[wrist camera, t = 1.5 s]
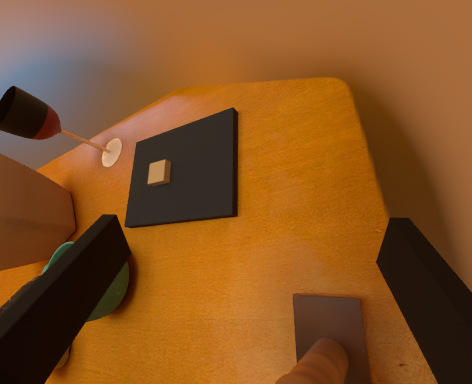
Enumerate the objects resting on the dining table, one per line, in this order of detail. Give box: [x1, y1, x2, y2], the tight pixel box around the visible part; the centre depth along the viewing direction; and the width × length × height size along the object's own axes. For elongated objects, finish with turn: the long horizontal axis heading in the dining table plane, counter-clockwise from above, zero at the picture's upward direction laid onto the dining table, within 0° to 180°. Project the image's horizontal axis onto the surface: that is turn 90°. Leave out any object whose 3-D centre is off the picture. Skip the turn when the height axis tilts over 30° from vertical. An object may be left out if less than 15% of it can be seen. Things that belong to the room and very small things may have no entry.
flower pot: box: [0, 154, 76, 271], centre depth 54 cm, size 19×19×17 cm
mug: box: [42, 242, 129, 322], centre depth 42 cm, size 17×13×10 cm
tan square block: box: [148, 159, 171, 186], centre depth 43 cm, size 4×4×2 cm
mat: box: [124, 108, 238, 228], centre depth 43 cm, size 24×18×2 cm
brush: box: [275, 293, 373, 384], centre depth 19 cm, size 10×6×16 cm, turn 0°
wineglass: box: [0, 86, 122, 167], centre depth 49 cm, size 8×9×20 cm
